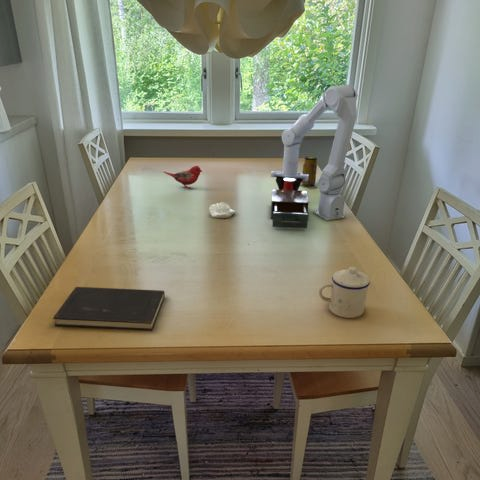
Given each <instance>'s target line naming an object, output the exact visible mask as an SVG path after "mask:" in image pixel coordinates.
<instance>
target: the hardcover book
mask: <svg viewBox="0 0 480 480" xmlns="http://www.w3.org/2000/svg"><path fill="white" fill-rule="evenodd" d="M165 297H166V293H165V290H162V289H161V290H157V289H156V290H155V289H137V288H136V289H135V288H114V287H94V286H93V287H91V286H75V287H74V288H73V290H72V291H71V293H70V294H69V295H68V296H67V298H66V299H65V301H64V302H63V304H62V305H61V307H60V308H59V309H58V311H57V312H56V313H55V315H54V316H53V317H52V320H54V321H55V324H54V327H68V328H71V327H72V328H87V329H107V330H109V329H111V330H129V331H130V330H131V331H147V332H148V331H151V332H152V331H153V330H154V327H155V324H156V322H157V320H158V317H159V314H160V311H161V309H162V306H163V303H164V301H165Z"/></svg>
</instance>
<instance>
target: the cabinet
mask: <svg viewBox="0 0 480 480" xmlns="http://www.w3.org/2000/svg"><path fill="white" fill-rule="evenodd" d="M275 203H292V204H305V207H306V213H308V212H309V197H308V192H307V190H298V191H297V190H279V189H272V190H271V201H270V220H273V212H274V205H275ZM308 214H309V213H308Z"/></svg>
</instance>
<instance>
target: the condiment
mask: <svg viewBox="0 0 480 480" xmlns="http://www.w3.org/2000/svg"><path fill="white" fill-rule="evenodd" d="M317 160H318V157H317V156H315V155H306V156H305V157H304V162H303V163H302V172H301V173H302V174H308V180H307V181H305V180H303V181H302V183H301V184H300V186H302V187H306V188H309V189H315V188H318V186H317V183H316V178H317V171H318V170H317V169H318V164H317V163H318V161H317Z"/></svg>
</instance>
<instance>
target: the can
mask: <svg viewBox="0 0 480 480" xmlns="http://www.w3.org/2000/svg"><path fill="white" fill-rule="evenodd" d="M295 180H296V179H290V178H284V180H283V187H282V190H295Z"/></svg>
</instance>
